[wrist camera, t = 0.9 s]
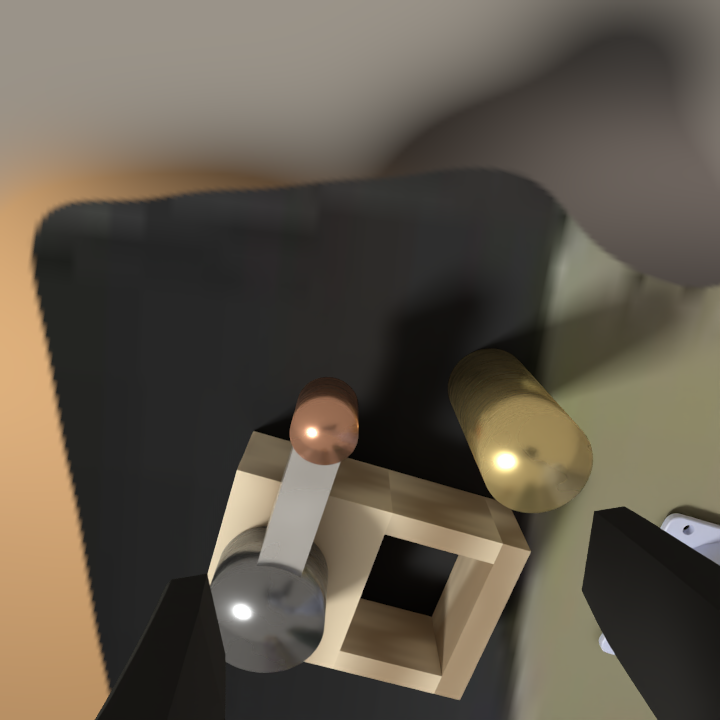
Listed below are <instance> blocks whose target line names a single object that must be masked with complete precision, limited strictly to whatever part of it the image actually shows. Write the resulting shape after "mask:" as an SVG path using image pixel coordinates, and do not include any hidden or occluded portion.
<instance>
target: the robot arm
mask: <svg viewBox="0 0 720 720" xmlns="http://www.w3.org/2000/svg"><path fill="white" fill-rule="evenodd" d="M687 525H689V527H688V528H687V529H685V530H683V528H684V527H685V526H687ZM582 592H583V594H584V596H585V598H586V600H587V602H588V604H589V606H590V609H591V611H592V613H593V615H594V617H595V619H596V621H597V623H598V625H599V627H600V629H601V631H602V632H603V633H602V634H601V636H600V638H599V644H600V646H601V648H602V650H603V651H604V652H606V653H610V654H614V655H616V657H617V658H618V660H619V661H620V663H621V664H622V666H623V667H624V669H625V671H626V672H627V674H628V675H629V677H630V678H631V680H632V681H633V683H634V684H635V686H636V688H637V689H638V691H639V692H640V694H641V695H642V697H643V698H644V700H645V701H646V703H647V704H648V706H649V707H650V709H651V710H652V712H653V713H654V715H655V716H656V718H657V719H658V720H720V525H717V524H714V523H710V522H707V521H703V520H700V519H696V518H693V517H690V516H686V515H683V514H679V513H674V514H671V515H669V516H667V518H666V519H665V520H664V522H663V524H662V526H661V527H660V528H659V527H658V526H656V525H654V524H653V523H651V522H650V521H648V520H646V519H645V518H643V517H641V516H640V515H638V514H636V513H635V512H633V511H631V510H629V509H628V508H626V507H618V508H612V509H605V510H599V511H594V516H593V523H592V529H591V535H590V542H589V548H588V554H587V561H586V567H585V574H584V580H583V586H582ZM95 720H225V650H224V646H223V641H222V637H221V633H220V628H219V624H218V619H217V615H216V610H215V606H214V601H213V597H212V593H211V588H210V584H209V579H208V575H207V574H203V575H197V576H191V577H185V578H178V579H172V580H171V581H170V582H169V583H168V584H167V585H166V587H165V589H164V591H163V593H162V595H161V598H160V600H159V602H158V604H157V606H156V608H155V610H154V612H153V614H152V616H151V618H150V620H149V622H148V624H147V626H146V628H145V630H144V632H143V634H142V636H141V638H140V640H139V642H138V644H137V646H136V648H135V650H134V651H133V653H132V655H131V657H130V659H129V661H128V663H127V664H126V666H125V668H124V670H123V671H122V673H121V675H120V677H119V679H118V680H117V682H116V684H115V686H114V688H113V689H112V691H111V693H110V695H109V696H108V698H107V700H106V702H105V703H104V705H103V707H102V709H101V710H100V712H99V714H98V715H97V717H96V719H95Z"/></svg>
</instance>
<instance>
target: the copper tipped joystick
mask: <svg viewBox="0 0 720 720" xmlns="http://www.w3.org/2000/svg"><path fill="white" fill-rule="evenodd" d="M290 441H291V444H292V448H291V451H290V454H289V458H288V461H287V464H286V467H285V470H284V474H283V477H282V480H281V483H280V486H279V490H278V493H277V496H276V499H275V503H274V506H273V509H272V512H271V515H270V519H269V522H268V525H267V526H262V527H256V528H253V529H250V530H247V531H245V532H243V533H241V534H239V535H238V536H236V537H235V538H234V539H232V540H231V541H230V542H229V543H228V545H227V546H226V547H225V549H224V550H223V552H222V554H221V557H220V560H219V562H218V565H217V568H216V570H215V573H214V576H213V579H212V581H211V584H210V588H211V593H212V597H213V601H214V606H215V610H216V615H217V619H218V624H219V628H220V633H221V637H222V641H223V646H224V650H225V661H226V662H227V663H229V664H231V665H233V666H235V667H238V668H240V669H244V670H247V671H252V672H261V673H270V672H278V671H283V670H287V669H289V668H292V667H294V666H297V665H299V664H300V663H302V662H303V661H305V660H306V659H307V658H309V657H310V656H311V655H312V654H313V653H314V651H315V650H316V649H317V647H318V646H319V644H320V642H321V640H322V637H323V633H324V626H325V612H326V599H327V586H328V567H327V562H326V560H325V557H324V555H323V553H322V552H321V550H320V549H319V547H318V546H317V545H316V544H315V543H314V542H313V540H314V538H315V535H316V532H317V529H318V526H319V523H320V520H321V517H322V514H323V511H324V508H325V505H326V503H327V500H328V497H329V494H330V491H331V488H332V485H333V482H334V479H335V476H336V473H337V470H338V468H339V465H340V462H341V461H343V460H344V459H346V458H347V457H348V456H349V455H350V454H351V453H352V452H353V450H354V449H355V447H356V445H357V441H358V399H357V396H356V394H355V392H354V391H353V389H352V388H351V387H350V386H349V385H348V384H347V383H345V382H344V381H342V380H339V379H337V378H332V377H323V378H318V379H315V380H313V381H311V382H310V383H308V384H307V385H306V386H305V387H304V388H303V389H302V391H301V392H300V394H299V397H298V401H297V404H296V408H295V411H294V415H293V419H292V422H291V426H290Z"/></svg>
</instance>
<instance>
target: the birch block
mask: <svg viewBox="0 0 720 720" xmlns="http://www.w3.org/2000/svg"><path fill="white" fill-rule="evenodd" d="M291 448H292V444H291V442H290V441H287V440H283V439H280V438H276V437H273V436H269V435H266V434H262V433H259V432H255V431H253V433H252V436H251V438H250V440H249V443H248V445H247V448H246V450H245V452H244V455H243V457H242V460H241V462H240V464H239V467H238V469H237V472H236V476H235V479H234V483H233V486H232V490H231V493H230V497H229V500H228V504H227V507H226V511H225V515H224V518H223V522H222V525H221V529H220V532H219V536H218V539H217V543H216V546H215V550H214V553H213V557H212V560H211V564H210V567H209V571H208V579H209V584H211V581H212V579H213V576H214V573H215V570H216V568H217V565H218V562H219V560H220V557H221V554H222V552H223V550H224V549H225V547H226V546H227V545H228V543H229V542H230V541H231V540H232V539H234V538H235V537H236V536H238V535H239V534H241V533H243V532H245V531H247V530H250V529H253V528H256V527H262V526H267V525H268V522H269V519H270V515H271V512H272V509H273V506H274V503H275V499H276V496H277V493H278V490H279V486H280V483H281V480H282V477H283V474H284V470H285V467H286V464H287V461H288V458H289V454H290V451H291ZM384 535H389V536H393V537H396V538H400V539H404V540H407V541H411V542H414V543H418V544H422V545H425V546H429V547H433V548H436V549H440V550H444V551H447V552H451V553H455V554H458V558H457V560H456V562H455V565H454V567H453V569H452V572H451V574H450V576H449V578H448V581H447V583H446V585H445V588H444V590H443V592H442V594H441V597H440V599H439V601H438V604H437V606H436V608H435V610H434V613H433V615H432V617H430V616H427V615H423V614H419V613H415V612H411V611H407V610H404V609H400V608H396V607H392V606H388V605H385V604H381V603H377V602H373V601H369V600H365V599H362V598H360V597H361V594H362V592H363V589H364V587H365V584H366V581H367V579H368V576H369V574H370V571H371V568H372V566H373V563H374V561H375V558H376V555H377V553H378V550H379V548H380V545H381V542H382V540H383V537H384ZM313 542H314V543H315V544H316V545H317V546H318V547H319V549H320V550H321V552H322V553H323V555H324V557H325V560H326V562H327V567H328V586H327V599H326V612H325V626H324V633H323V637H322V640H321V642H320V644H319V646H318V647H317V649H316V650H315V651H314V653H313V654H312V655H311V656H310V657H309V658H307V659H306V660H305V661H304V662H308V663H312V664H316V665H320V666H324V667H328V668H332V669H336V670H340V671H344V672H348V673H352V674H356V675H361V676H365V677H369V678H373V679H377V680H381V681H385V682H389V683H393V684H397V685H401V686H405V687H409V688H413V689H417V690H421V691H425V692H429V693H433V694H437V695H441V696H445V697H449V698H453V699H457V700H460V699H461V696H462V694H463V692H464V690H465V688H466V686H467V684H468V682H469V680H470V678H471V676H472V674H473V671H474V669H475V667H476V665H477V663H478V661H479V659H480V657H481V655H482V653H483V651H484V649H485V646H486V644H487V642H488V640H489V638H490V636H491V634H492V632H493V630H494V628H495V626H496V624H497V621H498V619H499V617H500V615H501V613H502V611H503V609H504V607H505V605H506V603H507V601H508V599H509V596H510V594H511V592H512V590H513V588H514V586H515V584H516V582H517V580H518V578H519V576H520V574H521V571H522V569H523V567H524V565H525V563H526V561H527V559H528V557H529V555H530V553H531V550H530V548H529V546H528V544H527V542H526V540H525V538H524V535H523V533H522V531H521V529H520V527H519V525H518V523H517V521H516V518H515V516H514V514H513V512H512V510H511V509H510V508H508V507H506V506H504V505H502V504H501V503H499V502H498V501H497V500H494V499H490V498H487V497H483V496H480V495H476V494H473V493H469V492H466V491H462V490H459V489H455V488H452V487H448V486H445V485H441V484H438V483H434V482H431V481H427V480H424V479H420V478H417V477H413V476H410V475H406V474H403V473H399V472H396V471H392V470H389V469H385V468H382V467H378V466H375V465H371V464H368V463H364V462H361V461H357V460H354V459H350V458H346V459H344V460H343V461H341V462H340V465H339V468H338V470H337V473H336V476H335V479H334V482H333V485H332V488H331V491H330V494H329V497H328V500H327V503H326V505H325V508H324V511H323V514H322V517H321V520H320V523H319V526H318V529H317V532H316V535H315V538H314V540H313Z"/></svg>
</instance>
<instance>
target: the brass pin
mask: <svg viewBox="0 0 720 720" xmlns="http://www.w3.org/2000/svg"><path fill="white" fill-rule="evenodd" d="M448 396H449V399H450V402H451V404H452V407H453V409H454V411H455V414H456V416H457V418H458V421H459V423H460V425H461V428H462V430H463V432H464V435H465V437H466V440H467V442H468V444H469V447H470V449H471V451H472V454H473V456H474V458H475V461H476V463H477V465H478V468H479V470H480V473H481V475H482V477H483V480H484V482H485V484H486V487H487V489H488V490H489V492H490V493H491V495H492V496H493V497H494V498H495V499H496V500H497V501H498V502H499V503H501V504H502V505H504V506H506V507H508V508H510V509H512V510H515V511H519V512H523V513H541V512H546V511H551V510H553V509H556V508H559V507H561V506H563V505H564V504H566V503H568V502H569V501H570V500H572V499H573V498H574V497H575V496H576V495H577V494H578V493H579V492H580V491H581V490H582V489H583V487H584V486H585V484H586V482H587V481H588V479H589V476H590V474H591V470H592V465H593V453H592V448H591V445H590V442H589V440H588V438H587V436H586V435H585V434H584V432H583V431H582V430H581V429H580V428H579V426H578V425H577V424H576V423H575V422H574V421H573V420H572V419H571V418H570V417H569V415H568V414H567V413H566V412H565V411H564V410H563V409H562V408H561V407H560V406H559V404H558V403H557V402H556V401H555V400H554V399H553V398H552V397H551V396H550V394H549V393H548V392H547V391H546V390H545V389H544V388H543V387H542V386H541V385H540V383H539V382H538V381H537V380H536V379H535V378H534V377H533V376H532V375H531V374H530V372H529V371H528V370H527V369H526V368H525V367H524V366H523V365H522V364H521V362H520V361H519V360H518V359H517V358H516V357H514V356H513V355H512V354H510V353H508V352H506V351H503V350H499V349H481V350H478V351H475V352H472V353H470V354H469V355H467V356H465V357H464V358H463V359H462V360H460V361H459V362H458V364H457V365H456V366H455V367H454V369H453V371H452V373H451V375H450V378H449V382H448Z"/></svg>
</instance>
